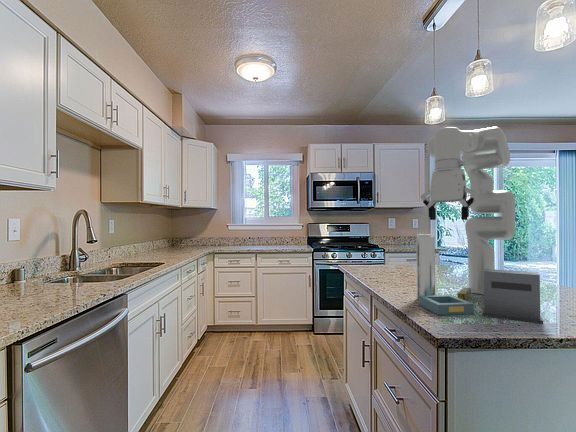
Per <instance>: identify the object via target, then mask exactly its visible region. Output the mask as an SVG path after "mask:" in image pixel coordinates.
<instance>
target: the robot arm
mask: <svg viewBox="0 0 576 432" xmlns="http://www.w3.org/2000/svg"><path fill="white" fill-rule="evenodd" d="M433 135H434V136H431V137H430V138H429V139H428V141H427V145H426V149H427V153H428V155H430V157H432V158H434V171H432V174H431V180H430V190H428V191H426V192H424V193H423V194H421V195H420V199H421V200H422V201H423V204H424V205H425V206H426V207H427V209H428V218H429V220H430V221H431V220H432V221H436V219H437V208H436V207H435V206H437V204H438V203H453V202H454V203H456V202H459V203H460V204H461V205H462V206H461V208H460V209H461V212H460V213H461V214H460V215H461V220H465V223H464V225H465V226H464V229H465V234H466V241H467V261H468V262H467V267H468V268H467V272H468V273H467V275H468V276H467V279H468V283H467V284H468V285H467V286H465V287H467V288H471V294H477V295H484V269H495V264H496V263H495V249H494V247H493V246H492V245H491V243H490V242H489V241H490V240H492V241H493V240H498V241H508V240H509V241H510V240H512V239H513V238H514V237H515V234H516V197H515V195H514V193H513V192H512V191H510V190H505V189H501V190H494V178H493V177H492V176H491V175H490V173H488V172H487V171H485V169H495V168H498V169H499V168H503V167H506V166H508V165H509V164H510V161H511V151H510V148H509V144H508V142H507V140H508V139H507V136H506V135H505V132H504V130H503V129H502V128H500V127H499V126H492V127H486V128H480V129H473V130H470V129H469V130H460V129H459V128H458V127H456V126H455V127H454V126H446V127H441V128H438V129H437V130H436V131H435V133H434V134H433ZM462 167H463V169H462ZM465 173H466V175H467V177H468V179H469V183H470V185H469V187H467V179H466V175H465ZM468 194H469V198H468ZM429 196H430V197H429ZM428 197H429V198H430V201H429V200H428ZM470 211H471V212H472V213H475V214H479V216H473V217H470ZM480 214H488V215H487V216H484V215H483V216H480ZM489 214H490V216H489ZM491 214H499V215H500V216H499V215H497V216H493V215H492V216H491ZM469 217H470V218H469ZM488 240H489V241H488ZM495 270H496V269H495Z"/></svg>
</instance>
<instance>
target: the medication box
mask: <svg viewBox="0 0 576 432" xmlns="http://www.w3.org/2000/svg"><path fill="white" fill-rule="evenodd" d="M456 295H457V296H456V297H458V298H460V299H463V300H465V301H468V302H470V300H471V299H472V293H471V288H467V287H466V286H464V287H462V288H461V289H460V290H459V291H458V292H457V293H456Z"/></svg>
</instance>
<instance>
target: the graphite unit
mask: <svg viewBox="0 0 576 432" xmlns="http://www.w3.org/2000/svg"><path fill="white" fill-rule="evenodd" d="M540 277H541V275H540V274H539V273H538V272H537V271H522V270H512V269H511V270H509V269H507V270H506V269H484V294H483V306H482V309H481V310H482V312H481V313H482V315H481V316H482V317H484V318H485V317H486V318H493V319H500V320H509V321H517V322H525V323H531V324H538V325H544V320H543V318H542V317H541V278H540Z"/></svg>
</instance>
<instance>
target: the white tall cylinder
mask: <svg viewBox="0 0 576 432" xmlns="http://www.w3.org/2000/svg"><path fill="white" fill-rule="evenodd" d="M415 238H416V239H415V242H416V246H415V247H416V248H415V249H416V252H415V253H416V257H415V258H416V261H415V262H416V268H415V269H416V299H417V300H418V301H419V296H433V295H436V247H435V246H436V245H435V244H436V243H435V242H436V237H435V236H434V234H431V233H428V234H427V233H417V234H416V236H415Z"/></svg>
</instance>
